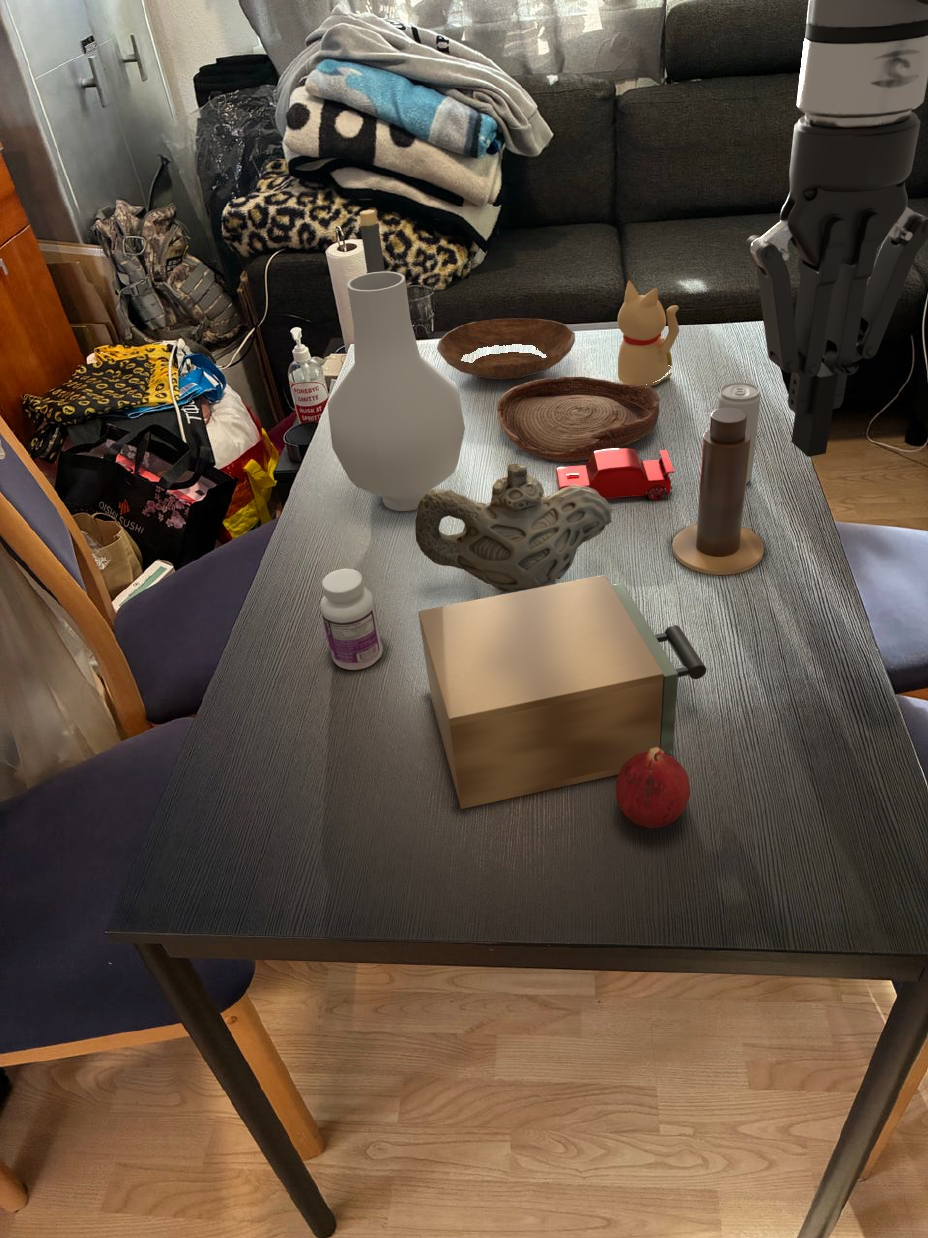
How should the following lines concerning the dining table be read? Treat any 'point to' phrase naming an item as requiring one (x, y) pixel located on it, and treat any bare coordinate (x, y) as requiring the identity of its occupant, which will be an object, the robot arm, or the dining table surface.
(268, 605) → the dining table surface
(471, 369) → the bowl
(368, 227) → the wine bottle
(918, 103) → the robot arm
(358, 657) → the pill bottle
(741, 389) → the beverage can
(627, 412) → the basket
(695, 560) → the coaster
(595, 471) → the toy car
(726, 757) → the dining table surface
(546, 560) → the teapot
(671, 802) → the red pomegranate
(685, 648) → the drawer
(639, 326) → the figurine
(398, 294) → the vase
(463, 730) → the cabinet
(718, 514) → the pepper mill
